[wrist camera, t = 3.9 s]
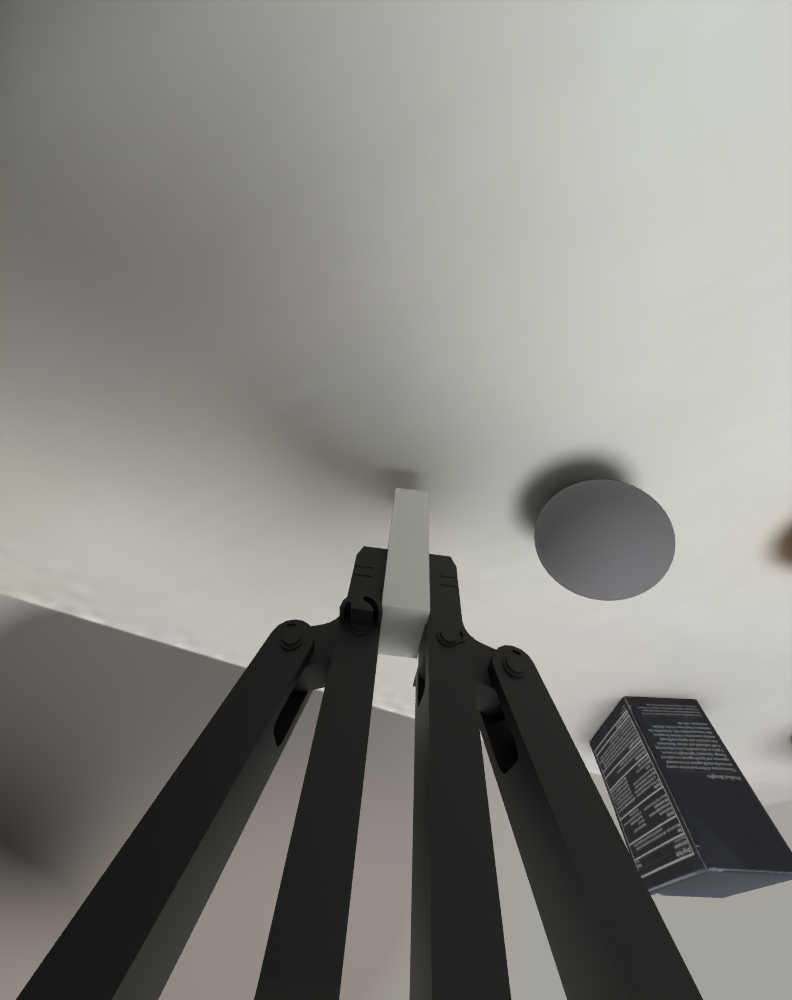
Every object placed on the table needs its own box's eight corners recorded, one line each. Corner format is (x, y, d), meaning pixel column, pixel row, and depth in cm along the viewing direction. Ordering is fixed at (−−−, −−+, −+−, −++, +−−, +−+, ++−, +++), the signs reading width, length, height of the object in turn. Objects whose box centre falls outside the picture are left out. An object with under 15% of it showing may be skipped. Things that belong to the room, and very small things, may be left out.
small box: (652, 746, 35) (726, 902, 27) (587, 742, 36) (638, 895, 27) (702, 698, 29) (818, 882, 20) (622, 694, 29) (703, 873, 21)
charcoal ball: (543, 451, 16) (589, 525, 12) (656, 464, 16) (743, 543, 12) (509, 535, 20) (535, 618, 15) (604, 546, 20) (657, 632, 15)
